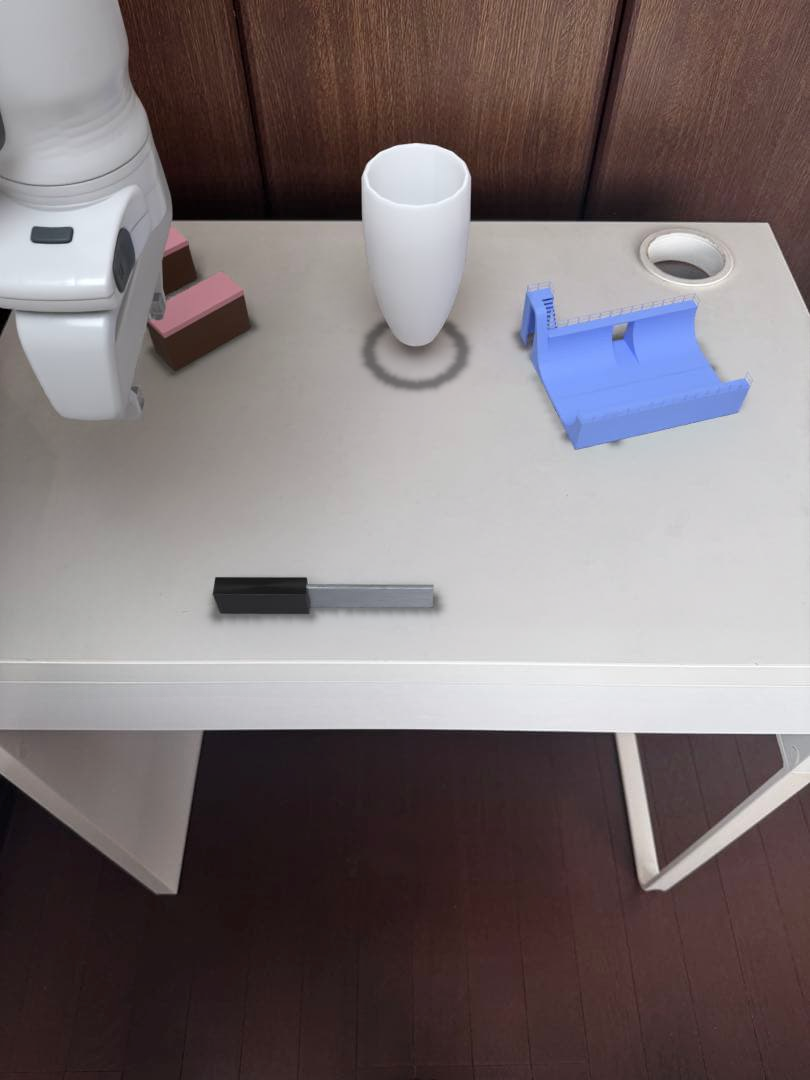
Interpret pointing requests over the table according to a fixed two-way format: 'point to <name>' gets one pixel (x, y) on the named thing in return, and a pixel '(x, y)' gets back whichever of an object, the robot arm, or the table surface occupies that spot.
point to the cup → (416, 235)
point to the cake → (177, 262)
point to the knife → (310, 595)
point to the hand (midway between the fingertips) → (142, 361)
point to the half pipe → (626, 371)
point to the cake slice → (199, 320)
